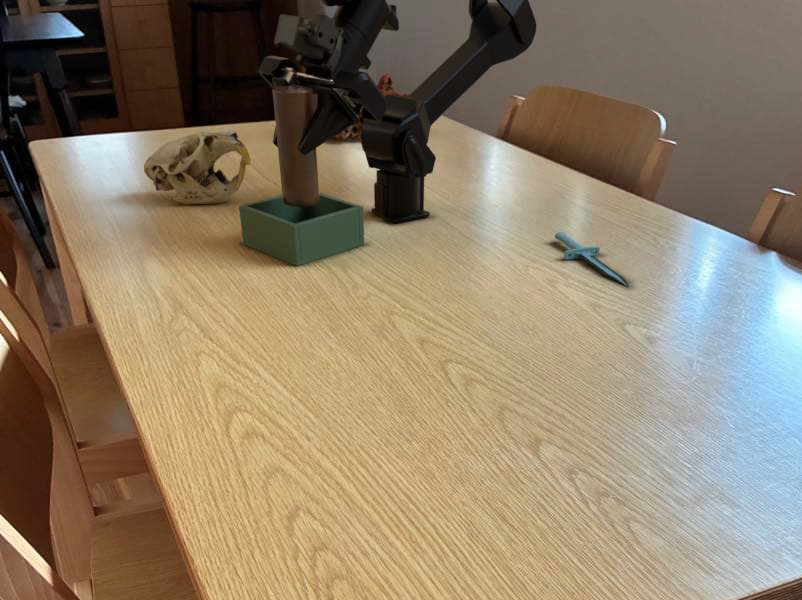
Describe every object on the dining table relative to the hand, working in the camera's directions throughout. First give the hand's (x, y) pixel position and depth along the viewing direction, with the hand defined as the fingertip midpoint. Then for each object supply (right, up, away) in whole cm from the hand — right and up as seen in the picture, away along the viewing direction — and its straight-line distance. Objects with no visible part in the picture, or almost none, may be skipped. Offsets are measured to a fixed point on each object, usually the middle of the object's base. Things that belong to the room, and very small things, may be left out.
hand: (288, 149), depth 100 cm
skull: (-17, +3, +24) cm, 29 cm away
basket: (+1, -9, +8) cm, 12 cm away
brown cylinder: (+1, -4, +5) cm, 7 cm away
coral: (+6, +30, +57) cm, 65 cm away
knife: (+38, -13, +3) cm, 41 cm away
